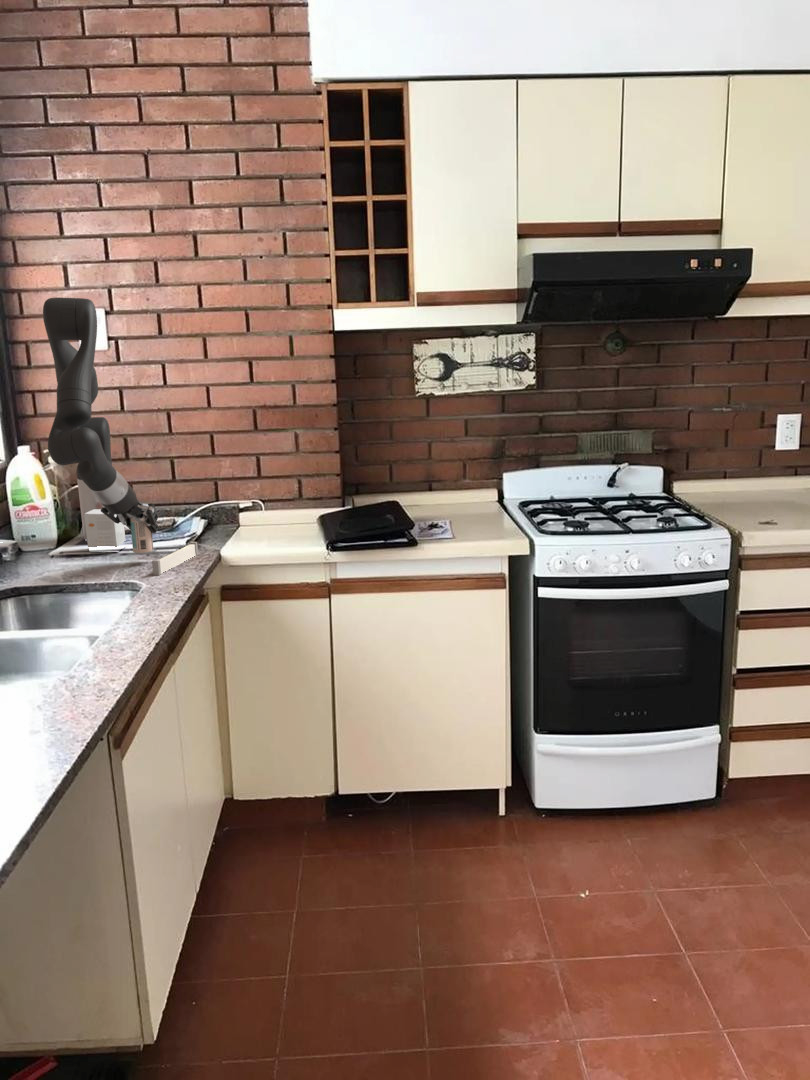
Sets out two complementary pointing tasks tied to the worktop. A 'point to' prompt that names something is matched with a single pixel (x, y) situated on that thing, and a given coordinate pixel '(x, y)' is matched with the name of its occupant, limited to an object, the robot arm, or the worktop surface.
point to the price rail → (174, 558)
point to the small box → (103, 530)
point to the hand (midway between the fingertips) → (145, 529)
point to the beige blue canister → (141, 537)
